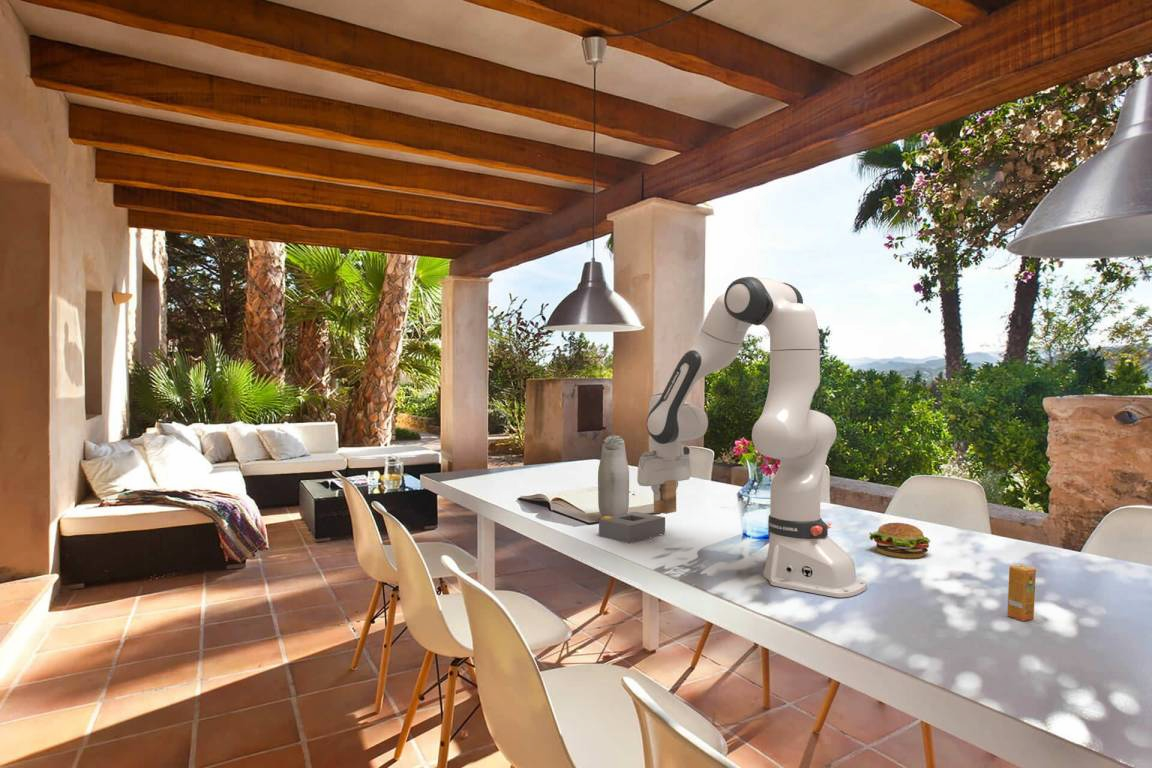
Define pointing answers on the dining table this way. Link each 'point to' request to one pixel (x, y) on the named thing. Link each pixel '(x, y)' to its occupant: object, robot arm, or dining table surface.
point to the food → (900, 540)
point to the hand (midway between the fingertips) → (665, 498)
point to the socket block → (631, 526)
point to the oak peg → (666, 498)
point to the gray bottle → (613, 478)
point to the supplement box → (1021, 592)
